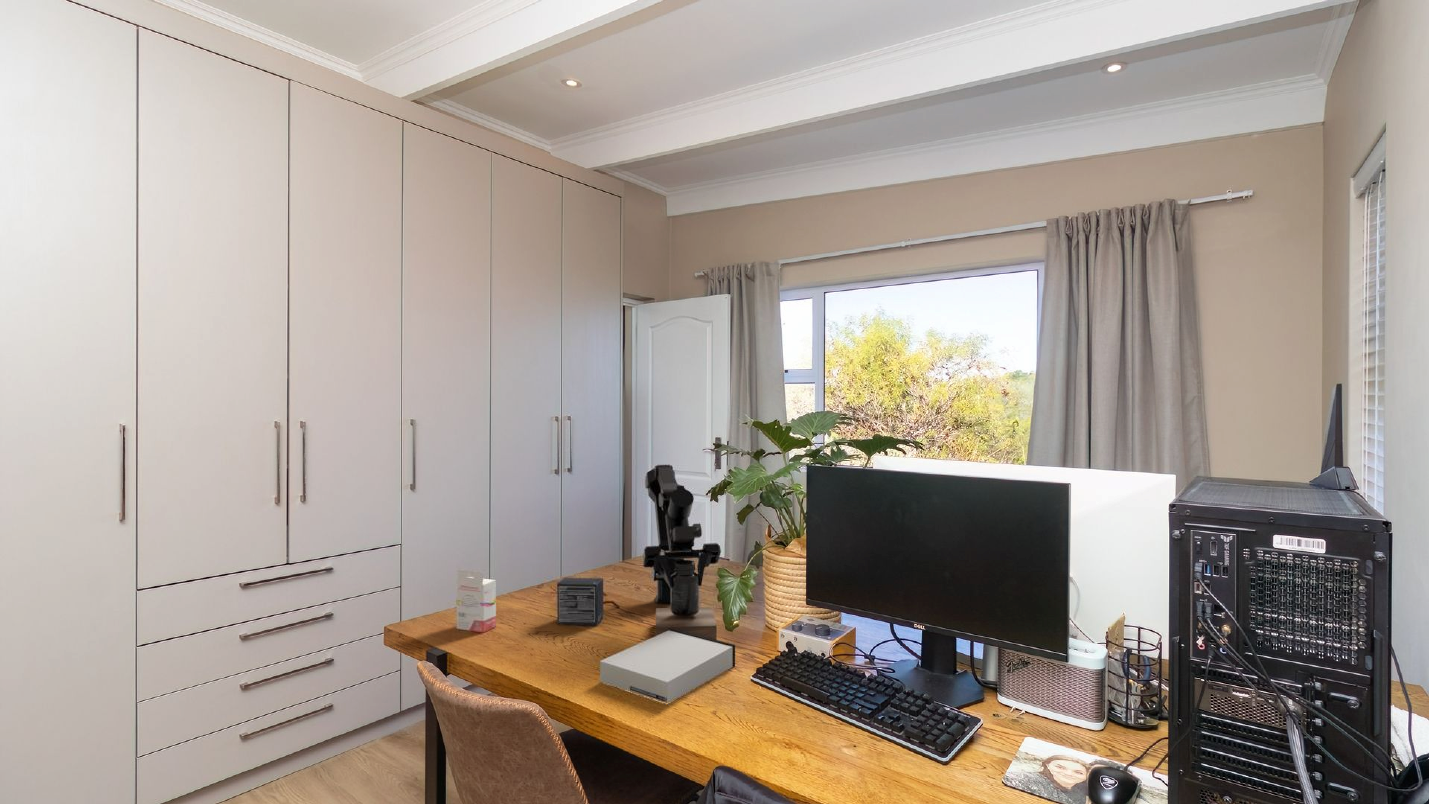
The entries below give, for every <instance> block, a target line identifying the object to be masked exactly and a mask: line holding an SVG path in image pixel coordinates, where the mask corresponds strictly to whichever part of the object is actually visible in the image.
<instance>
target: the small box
mask: <svg viewBox="0 0 1429 804" xmlns="http://www.w3.org/2000/svg"><path fill="white" fill-rule="evenodd" d="M556 588H557V590H556V591H557V592H556V595H557V597H556V598H557V600H556V601H557V607H556V608H557V609H556V613H557V619H556V621H557V622H556V625H557V624H564V625H563V626H565V624H567V625H566V626H591V625H595V626H599V624H600V623H601V621H602V620H603V619H604V617H605V616H604V604H603V602H604V595H603V592H604V578H603V577H601V578H599V577H597V578H596V577H595V578H593V577H564V578H562V579H561V580H560V581H558V582H557V583H556ZM568 624H570V625H568ZM571 624H572V625H571ZM575 624H576V625H575ZM595 626H594V627H595Z"/></svg>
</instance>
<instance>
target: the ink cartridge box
mask: <svg viewBox="0 0 1429 804" xmlns="http://www.w3.org/2000/svg"><path fill="white" fill-rule="evenodd" d="M468 575H471V576H468ZM472 576H473V577H472ZM456 578H457V579H456V582H455V583H456V629H457V630H463V631H469V632H470V631H471V632H476V633H486V632H488V631H490V630H492V629H494V628H497V593H496V592H497V583H496V581H497V580H496V579H488V578H484V572H483V571H480V570H479V571H478V570H473V569H463V568H458V569H457V576H456Z"/></svg>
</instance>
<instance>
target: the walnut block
mask: <svg viewBox="0 0 1429 804" xmlns="http://www.w3.org/2000/svg"><path fill="white" fill-rule="evenodd" d="M669 628H671V629H675V630H679V631H683V632H687V633H691V634H694V635H698V636H702V637H706V638H710V639H714V640H718V639H717V629H718V627H717V622H716V618H715V614H714V610H713V607H712V606H705V607H703V606H702V607H701V606H699V612H698V613H697V614H695V615H692V616H677V615H674V614H673V613H672V612H671V607H663V608H660V607H659V608H658V607H657V608H656V609H655V636H657V635H660V634H662V633H664V632H666V631H668V629H669Z"/></svg>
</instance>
